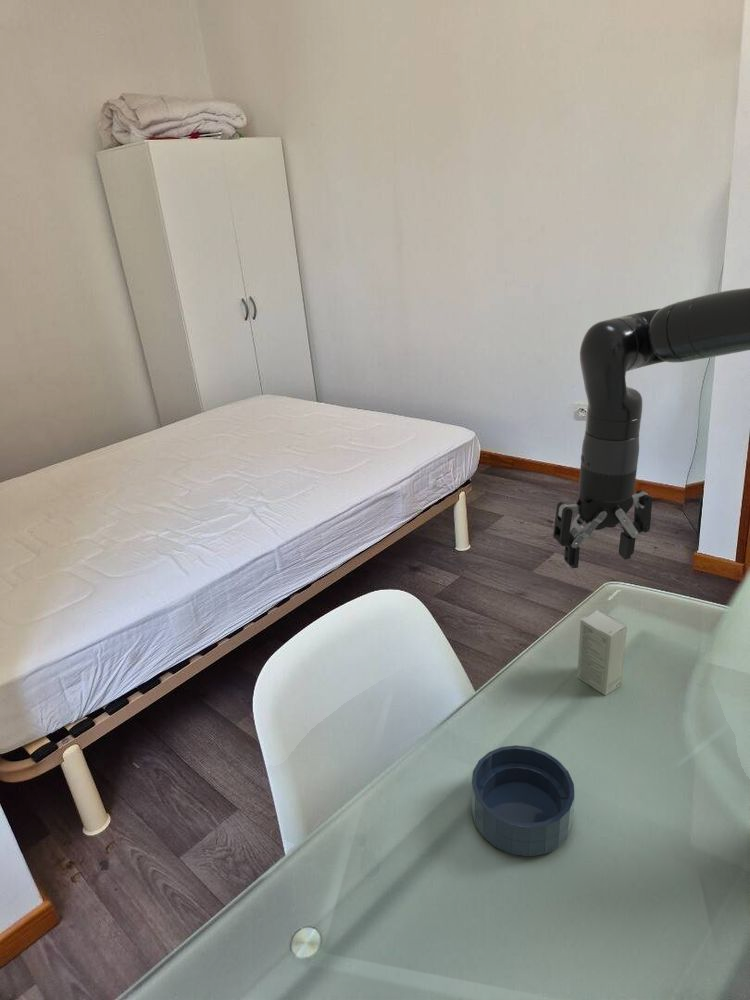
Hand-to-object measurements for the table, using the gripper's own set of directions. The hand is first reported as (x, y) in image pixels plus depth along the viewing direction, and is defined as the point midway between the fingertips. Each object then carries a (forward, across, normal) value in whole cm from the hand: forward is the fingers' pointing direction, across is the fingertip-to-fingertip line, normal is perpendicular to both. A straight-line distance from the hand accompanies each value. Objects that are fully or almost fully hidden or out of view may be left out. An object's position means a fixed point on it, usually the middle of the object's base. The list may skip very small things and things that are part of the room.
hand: (598, 561), depth 103 cm
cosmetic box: (+25, +3, +2) cm, 26 cm away
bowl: (+25, -20, -20) cm, 38 cm away
